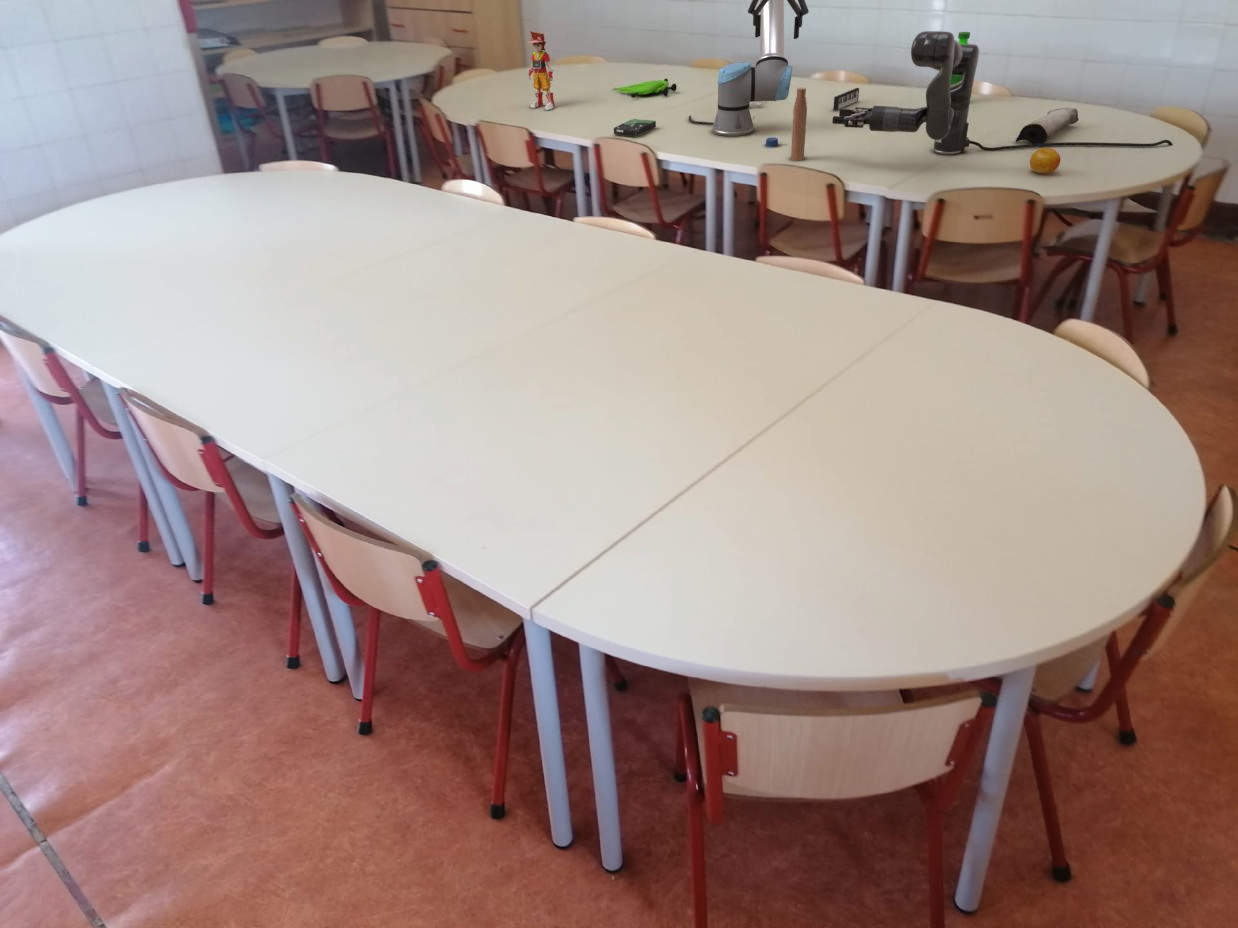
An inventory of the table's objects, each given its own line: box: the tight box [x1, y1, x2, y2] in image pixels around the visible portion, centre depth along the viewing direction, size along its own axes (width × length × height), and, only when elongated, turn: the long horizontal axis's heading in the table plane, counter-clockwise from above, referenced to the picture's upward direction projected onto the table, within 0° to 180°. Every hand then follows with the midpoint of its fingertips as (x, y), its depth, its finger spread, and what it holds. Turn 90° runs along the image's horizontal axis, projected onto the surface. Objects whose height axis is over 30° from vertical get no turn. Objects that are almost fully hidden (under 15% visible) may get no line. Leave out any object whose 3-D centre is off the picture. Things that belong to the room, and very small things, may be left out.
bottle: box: [790, 86, 808, 162], centre depth 298 cm, size 4×4×23 cm
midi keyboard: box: [832, 87, 860, 111], centre depth 357 cm, size 18×1×5 cm, turn 138°
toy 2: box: [612, 78, 677, 99], centre depth 396 cm, size 28×5×30 cm
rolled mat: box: [1014, 107, 1080, 144], centre depth 311 cm, size 30×9×10 cm
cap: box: [765, 137, 779, 148], centre depth 318 cm, size 4×4×2 cm
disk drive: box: [613, 118, 657, 138], centre depth 342 cm, size 10×3×15 cm
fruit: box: [1029, 147, 1062, 174], centre depth 277 cm, size 8×8×8 cm
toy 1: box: [527, 31, 556, 111], centre depth 374 cm, size 12×9×30 cm
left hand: (776, 37), depth 299 cm, fingers open, 13 cm apart
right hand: (836, 116), depth 292 cm, fingers open, 8 cm apart
